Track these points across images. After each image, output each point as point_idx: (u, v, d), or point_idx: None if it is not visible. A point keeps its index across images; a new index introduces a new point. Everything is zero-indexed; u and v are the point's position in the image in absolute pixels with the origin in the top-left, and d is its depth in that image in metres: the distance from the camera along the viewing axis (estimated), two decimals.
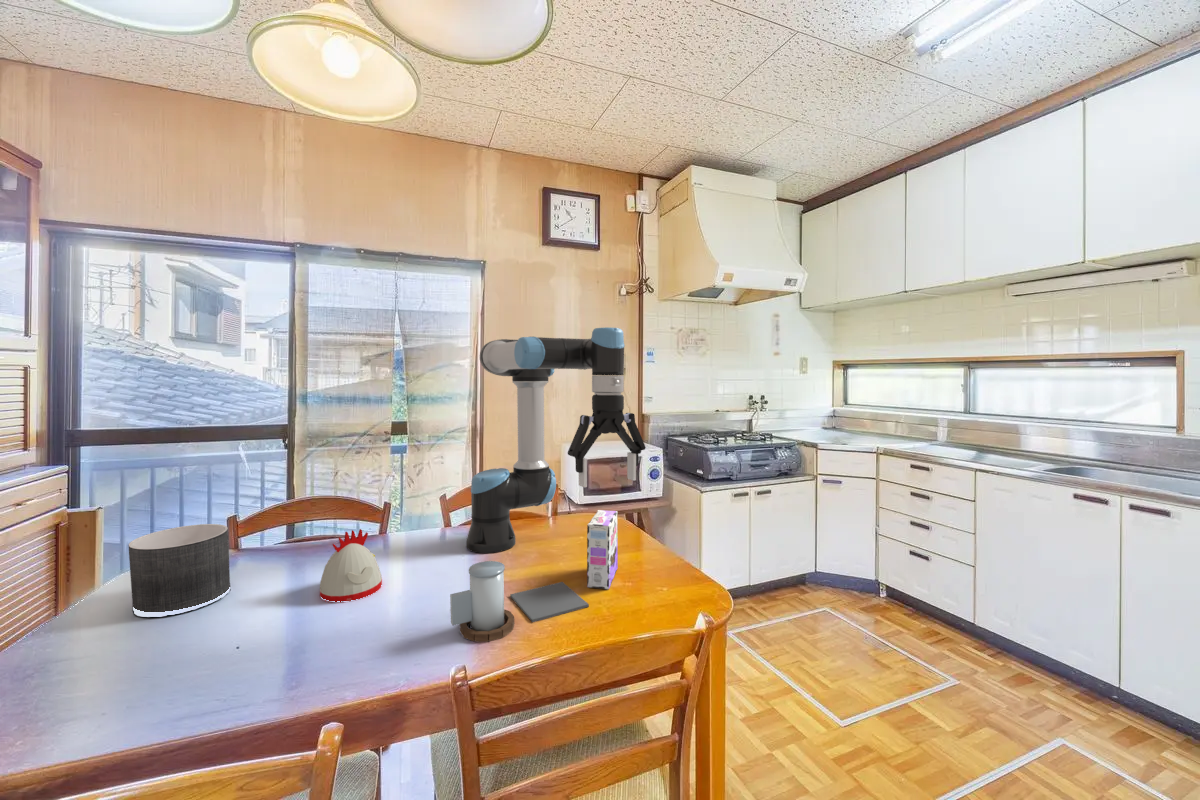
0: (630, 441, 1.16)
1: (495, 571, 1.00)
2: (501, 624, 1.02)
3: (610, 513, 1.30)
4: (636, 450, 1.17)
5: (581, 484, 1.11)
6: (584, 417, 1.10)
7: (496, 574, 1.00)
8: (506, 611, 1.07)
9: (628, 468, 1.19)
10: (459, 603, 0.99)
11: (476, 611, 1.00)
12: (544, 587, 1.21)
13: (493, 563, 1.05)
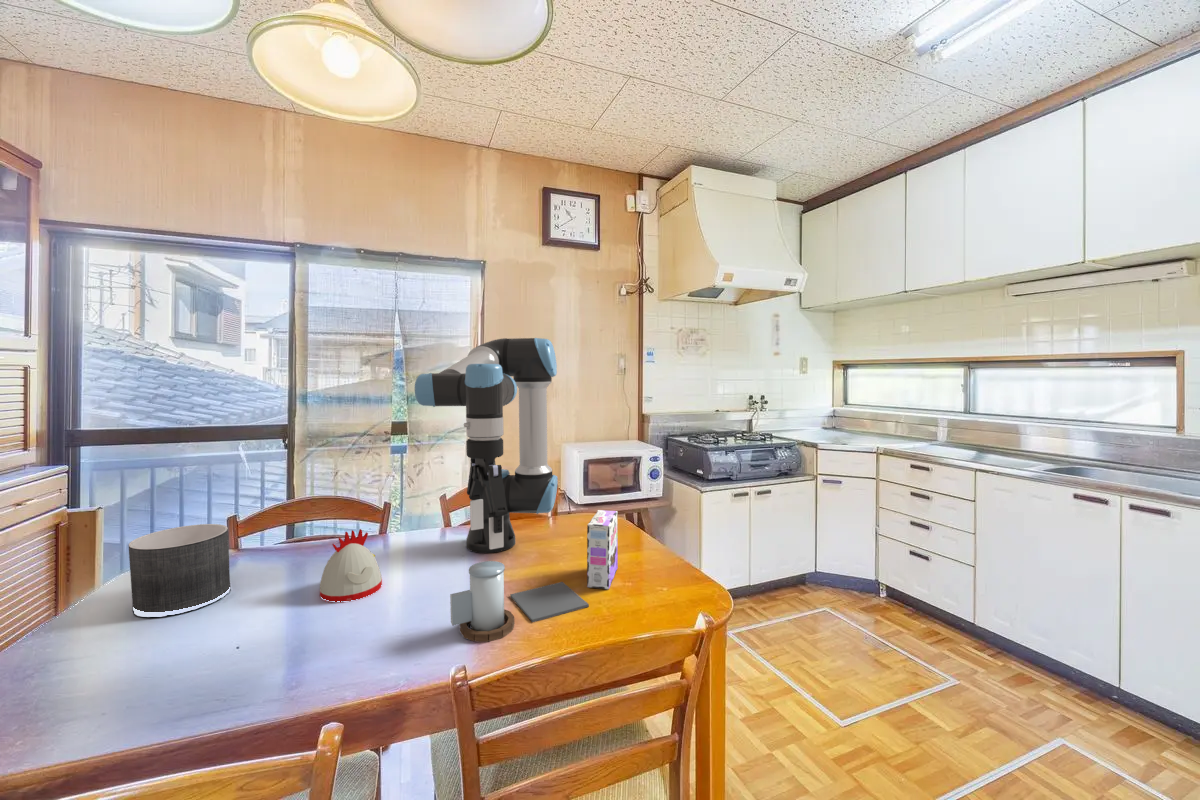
0: (488, 499, 0.96)
1: (495, 571, 1.00)
2: (501, 624, 1.02)
3: (610, 513, 1.30)
4: (490, 513, 0.94)
5: None
6: None
7: (496, 574, 1.00)
8: (506, 611, 1.07)
9: None
10: (459, 603, 0.99)
11: (476, 611, 1.00)
12: (544, 587, 1.21)
13: (493, 563, 1.05)
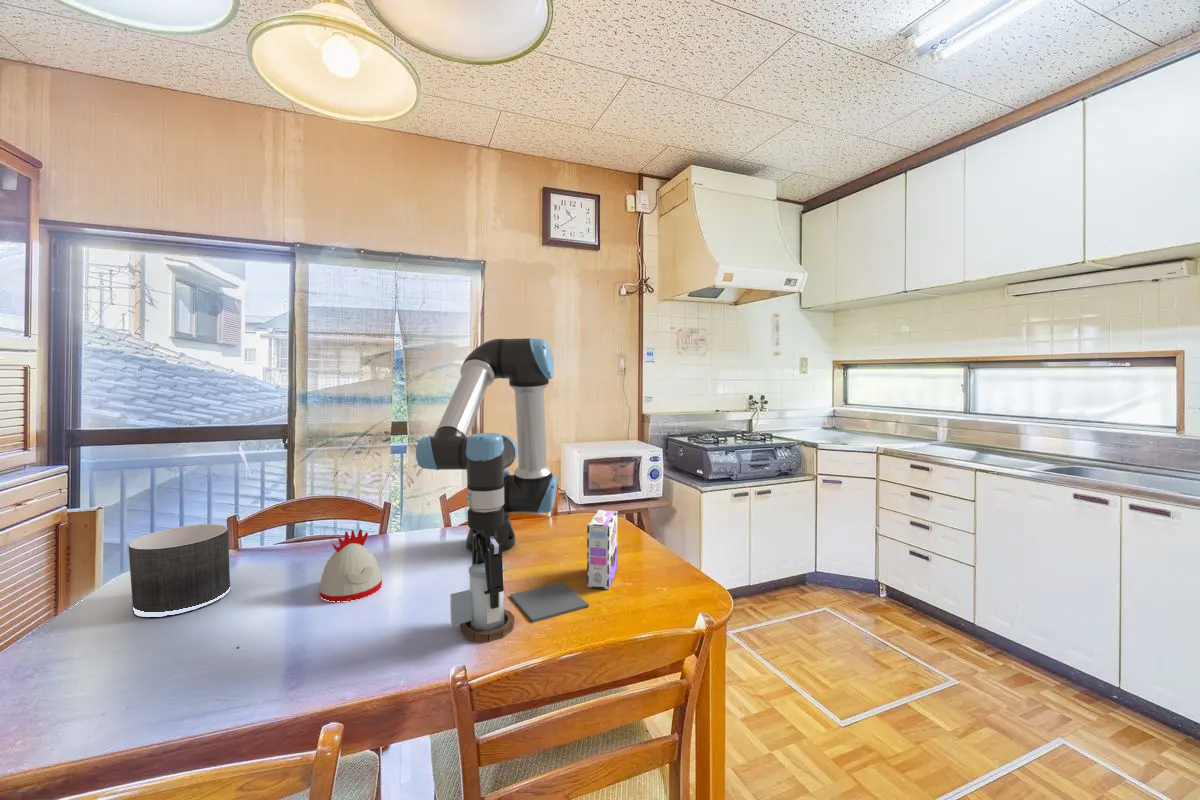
0: (486, 574, 0.98)
1: None
2: (501, 624, 1.02)
3: (610, 513, 1.30)
4: (487, 588, 0.98)
5: None
6: None
7: None
8: (506, 611, 1.07)
9: None
10: (459, 603, 0.99)
11: (476, 611, 1.00)
12: (544, 587, 1.21)
13: None
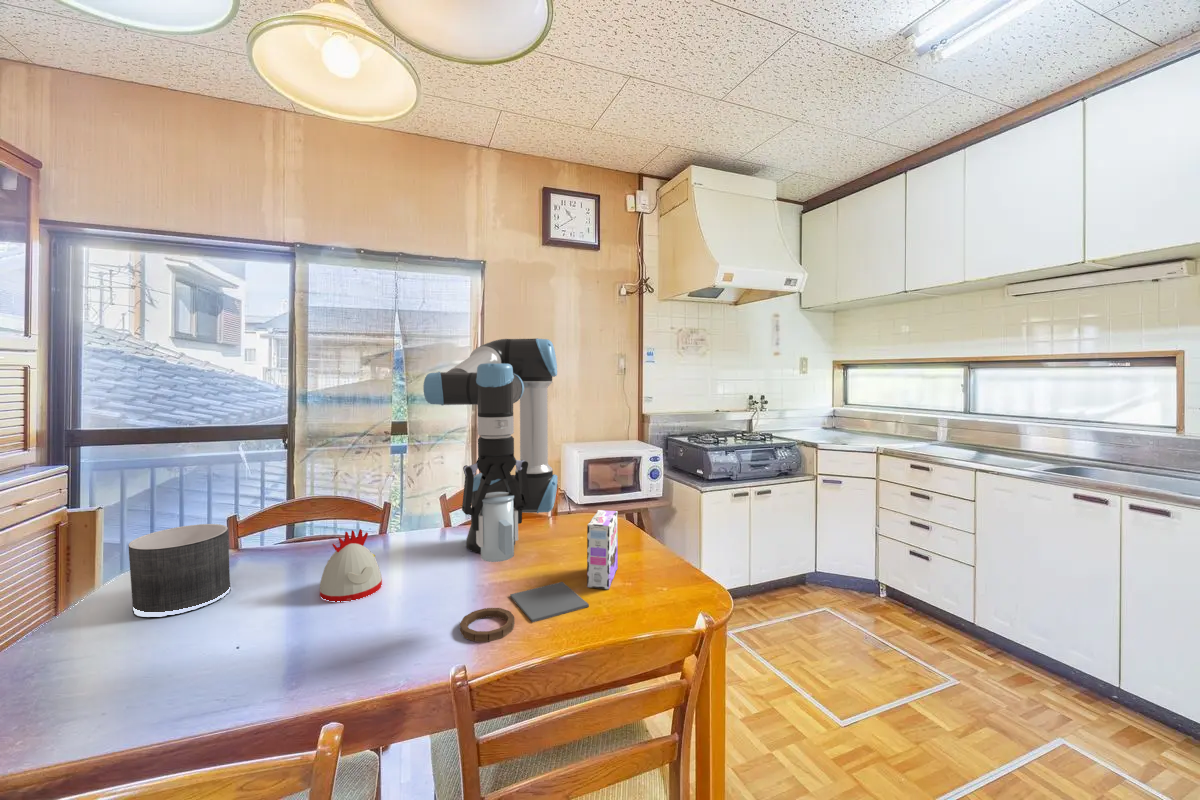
0: (515, 494, 1.04)
1: (507, 493, 1.06)
2: None
3: (610, 513, 1.30)
4: (518, 506, 1.05)
5: (478, 543, 1.02)
6: (465, 470, 0.99)
7: None
8: (506, 611, 1.07)
9: None
10: None
11: None
12: (544, 587, 1.21)
13: (486, 495, 1.04)
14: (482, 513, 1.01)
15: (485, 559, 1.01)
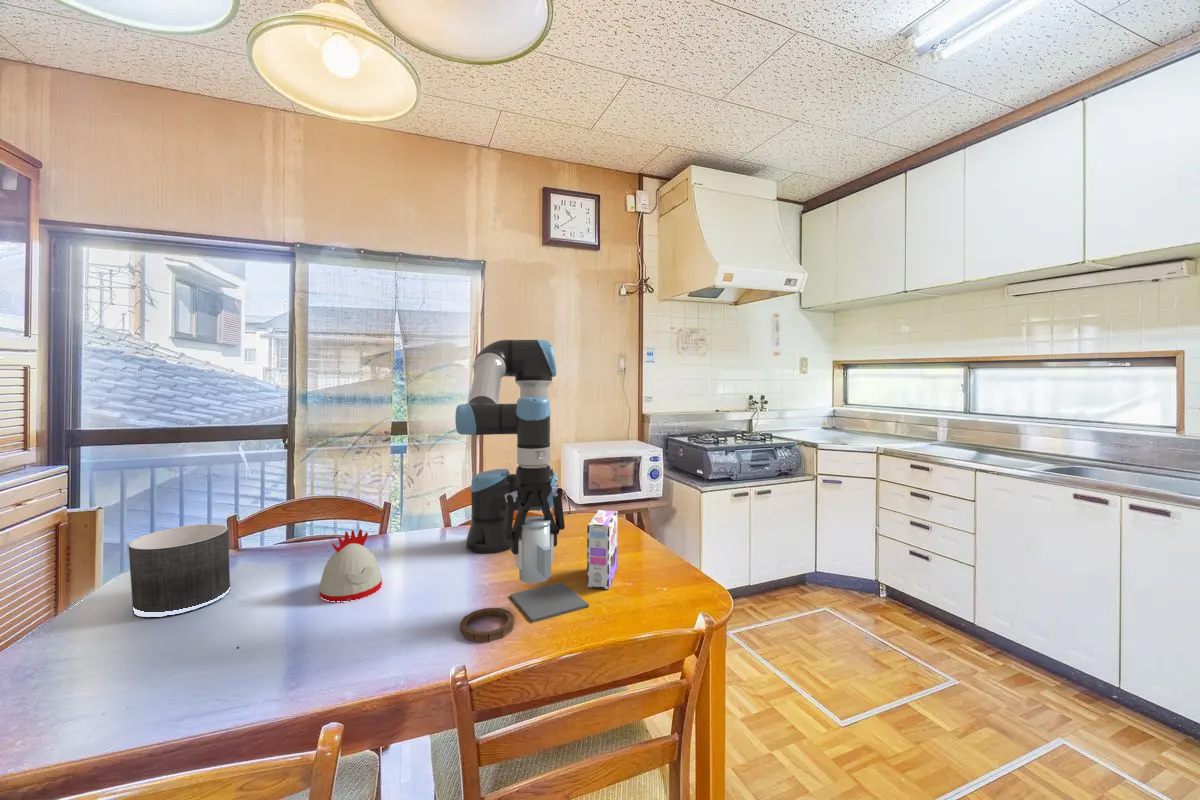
0: (551, 519, 1.11)
1: (543, 518, 1.13)
2: None
3: (610, 513, 1.30)
4: (554, 530, 1.12)
5: (517, 565, 1.09)
6: (506, 497, 1.06)
7: None
8: (506, 611, 1.07)
9: None
10: None
11: None
12: (544, 587, 1.21)
13: None
14: (521, 537, 1.08)
15: (524, 580, 1.08)
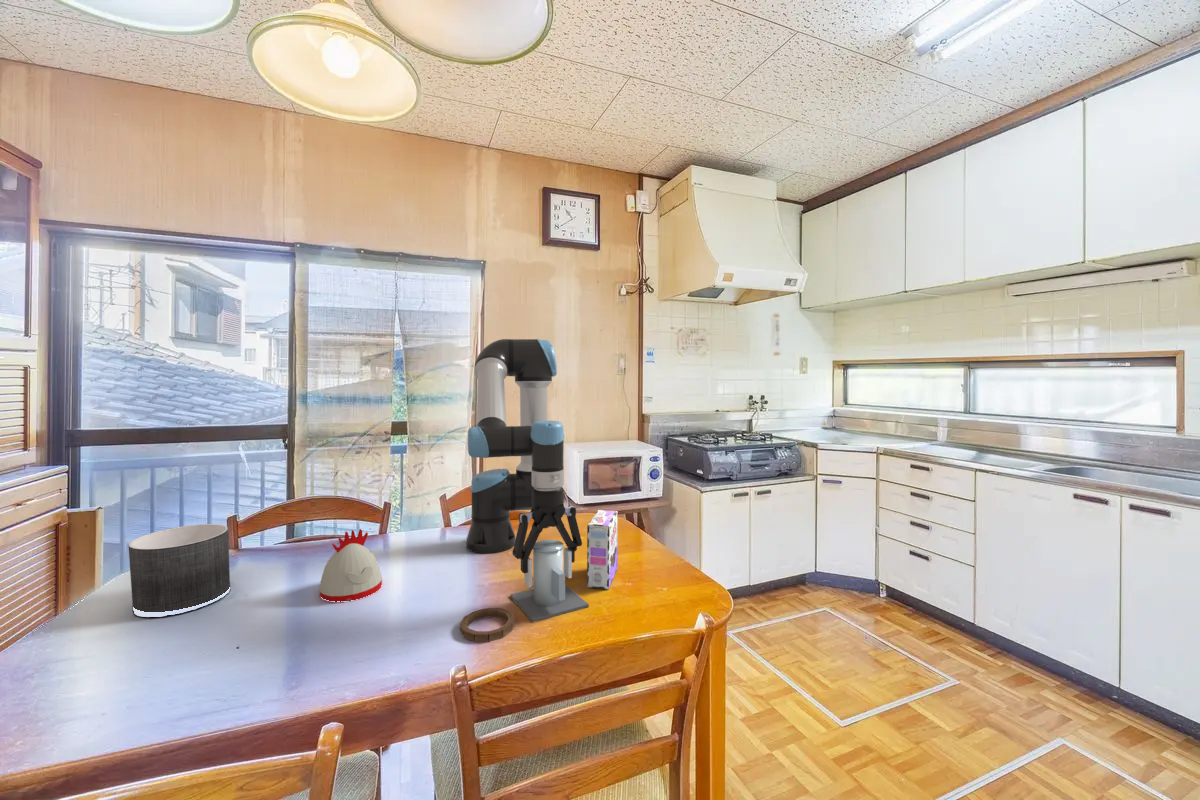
0: (567, 537, 1.15)
1: (556, 541, 1.16)
2: None
3: (610, 513, 1.30)
4: (572, 547, 1.16)
5: (526, 584, 1.11)
6: (521, 517, 1.09)
7: None
8: (506, 611, 1.07)
9: (564, 564, 1.17)
10: None
11: None
12: None
13: (538, 543, 1.15)
14: (536, 561, 1.12)
15: (539, 603, 1.12)
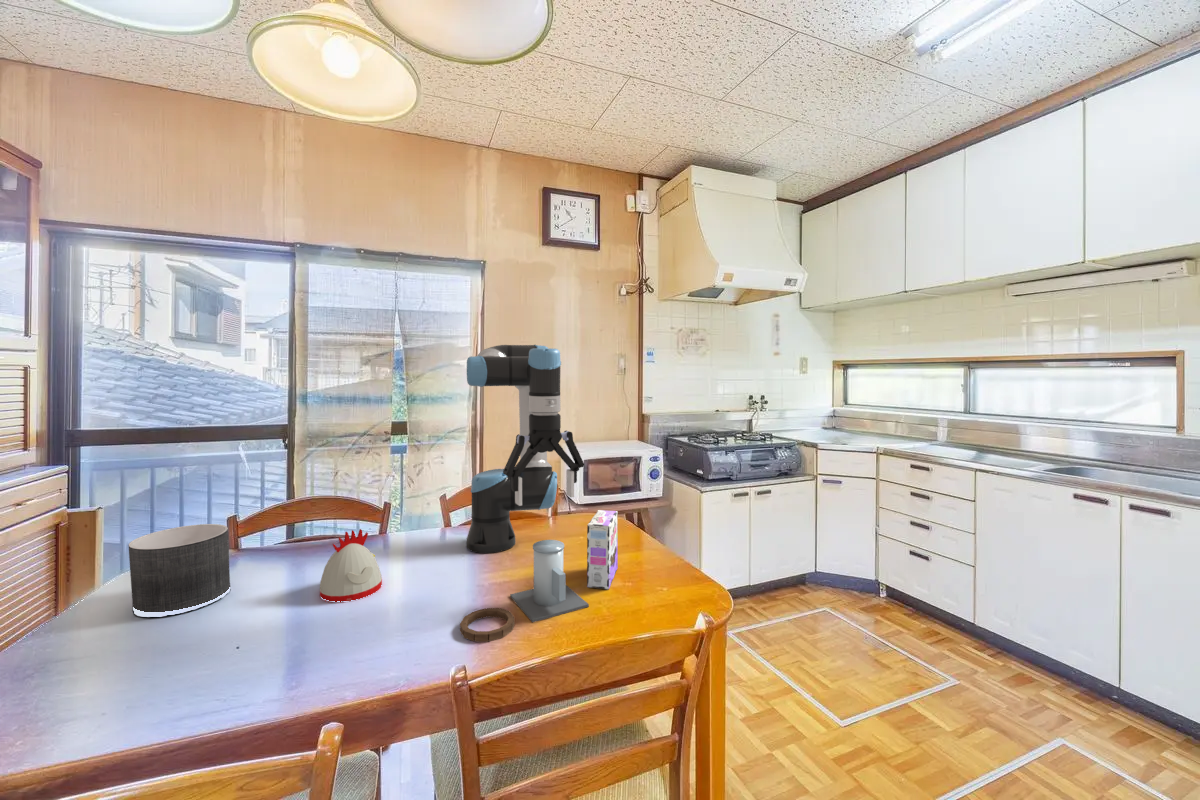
0: (568, 459, 1.18)
1: (557, 541, 1.16)
2: None
3: (610, 513, 1.30)
4: (574, 468, 1.19)
5: (517, 502, 1.13)
6: (519, 437, 1.12)
7: None
8: (506, 611, 1.07)
9: (567, 485, 1.21)
10: None
11: None
12: None
13: (539, 543, 1.15)
14: (536, 561, 1.11)
15: (539, 603, 1.12)
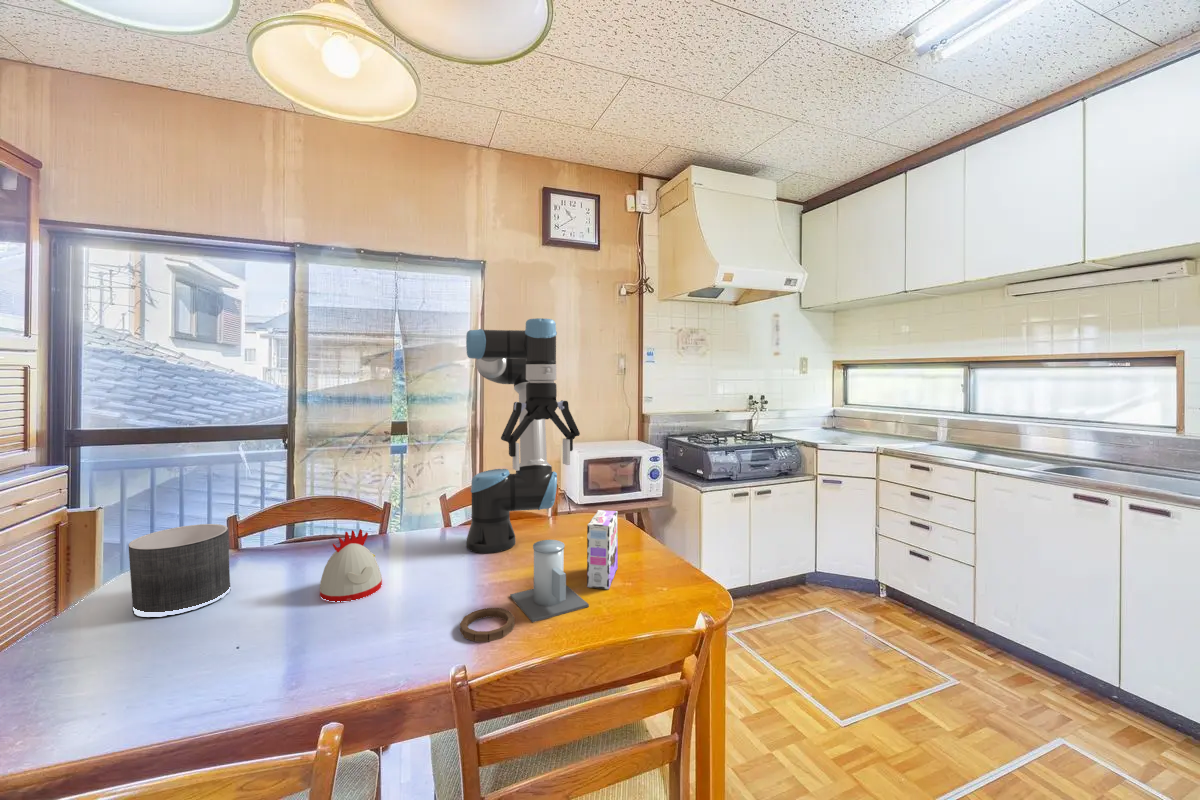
0: (564, 427, 1.22)
1: (557, 541, 1.16)
2: None
3: (610, 513, 1.30)
4: (570, 436, 1.23)
5: (514, 468, 1.17)
6: (516, 404, 1.16)
7: None
8: (506, 611, 1.07)
9: (563, 453, 1.24)
10: None
11: None
12: None
13: (539, 543, 1.15)
14: (537, 561, 1.11)
15: (539, 603, 1.12)
